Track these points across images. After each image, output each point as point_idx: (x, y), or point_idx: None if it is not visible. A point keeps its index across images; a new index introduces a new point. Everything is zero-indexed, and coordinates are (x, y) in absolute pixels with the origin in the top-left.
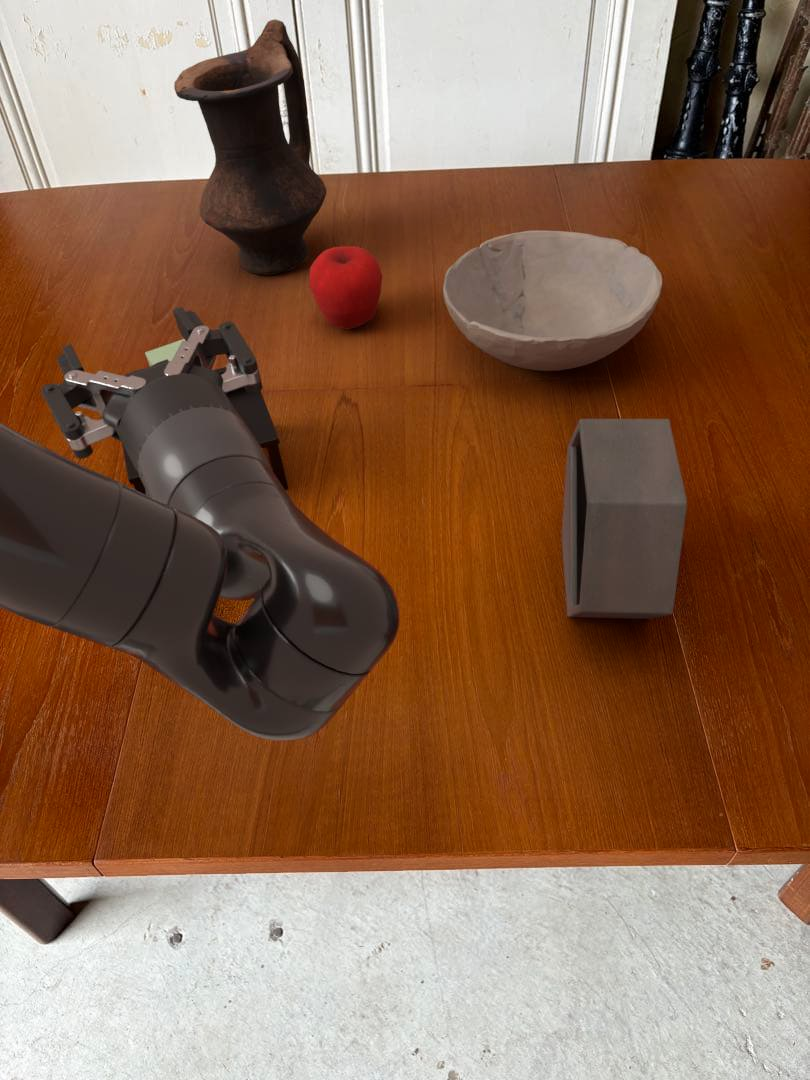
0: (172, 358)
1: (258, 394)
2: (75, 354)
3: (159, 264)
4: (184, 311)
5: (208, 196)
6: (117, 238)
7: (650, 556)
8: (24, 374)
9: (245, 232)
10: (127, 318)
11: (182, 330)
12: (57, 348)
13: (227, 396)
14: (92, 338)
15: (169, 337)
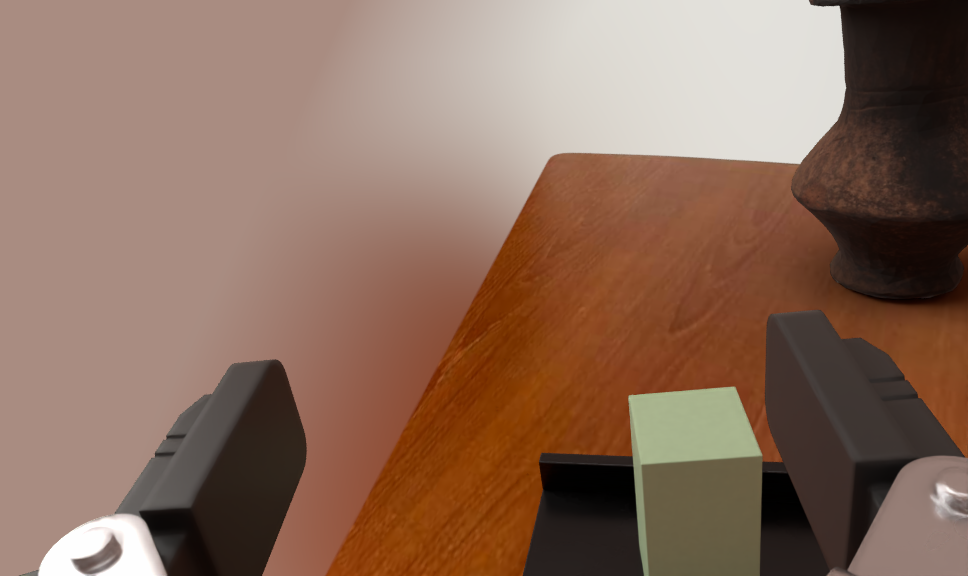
0: (686, 428)
1: None
2: (234, 418)
3: (703, 252)
4: (835, 337)
5: (814, 162)
6: (656, 213)
7: None
8: (462, 360)
9: (867, 222)
10: (633, 315)
11: (792, 427)
12: (521, 335)
13: (784, 531)
14: (573, 332)
15: (688, 359)
